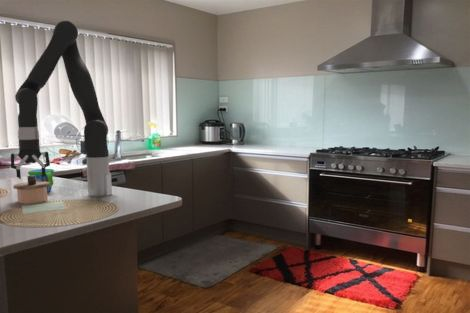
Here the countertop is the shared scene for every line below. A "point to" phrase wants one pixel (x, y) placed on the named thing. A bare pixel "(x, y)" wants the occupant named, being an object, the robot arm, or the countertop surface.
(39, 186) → the lid
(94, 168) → the robot arm
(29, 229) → the countertop surface
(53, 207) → the mat
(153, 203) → the countertop surface
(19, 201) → the bowl
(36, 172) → the snack cup
